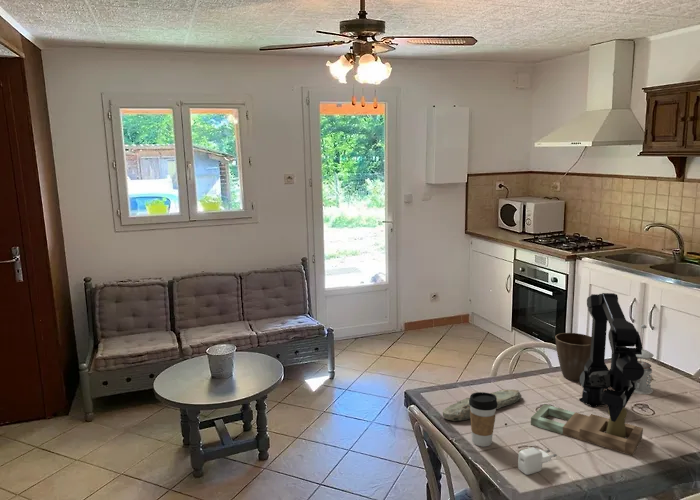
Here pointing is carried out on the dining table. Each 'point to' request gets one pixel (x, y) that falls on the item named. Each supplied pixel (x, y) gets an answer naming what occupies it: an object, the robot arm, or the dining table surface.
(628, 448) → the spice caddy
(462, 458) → the dining table surface
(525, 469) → the power adapter
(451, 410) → the elongated rock
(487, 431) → the coffee cup
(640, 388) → the french press
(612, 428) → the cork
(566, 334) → the plant pot
